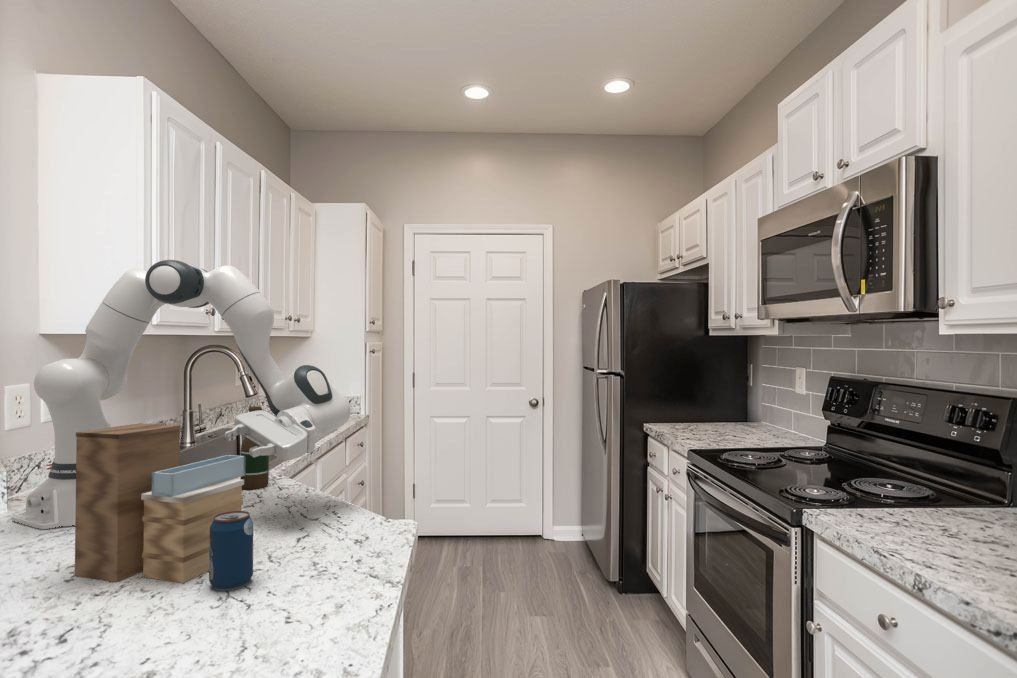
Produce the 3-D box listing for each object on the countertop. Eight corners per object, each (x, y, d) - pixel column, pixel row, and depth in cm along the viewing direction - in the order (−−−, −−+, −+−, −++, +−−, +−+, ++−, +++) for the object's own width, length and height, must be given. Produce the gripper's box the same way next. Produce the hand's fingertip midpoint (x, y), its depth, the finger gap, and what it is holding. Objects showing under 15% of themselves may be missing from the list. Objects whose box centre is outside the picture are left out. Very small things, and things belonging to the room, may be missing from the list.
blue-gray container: (151, 495, 102) (151, 472, 102) (227, 474, 119) (227, 454, 120) (171, 497, 101) (171, 474, 101) (245, 475, 118) (245, 456, 118)
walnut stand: (73, 575, 104) (75, 432, 104) (138, 551, 116) (139, 423, 117) (117, 582, 101) (119, 434, 101) (179, 556, 113) (180, 425, 114)
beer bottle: (258, 491, 166) (258, 408, 166) (234, 489, 167) (235, 407, 168) (274, 484, 174) (274, 405, 174) (251, 483, 175) (252, 405, 176)
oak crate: (140, 577, 103) (141, 493, 103) (204, 550, 117) (205, 476, 117) (183, 583, 100) (183, 497, 100) (243, 555, 114) (244, 479, 114)
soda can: (261, 579, 102) (262, 511, 102) (231, 594, 96) (231, 522, 96) (231, 574, 104) (231, 508, 105) (199, 589, 98) (200, 518, 98)
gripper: (266, 399, 143) (212, 415, 132) (319, 430, 133) (266, 450, 121) (266, 422, 145) (212, 439, 133) (318, 454, 134) (265, 475, 123)
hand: (238, 444), depth 127 cm, fingers open, 8 cm apart
